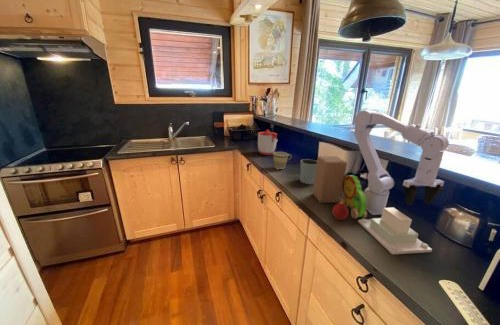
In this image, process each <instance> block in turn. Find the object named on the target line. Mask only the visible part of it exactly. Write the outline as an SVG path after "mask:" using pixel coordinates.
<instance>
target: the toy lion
mask: <svg viewBox="0 0 500 325" xmlns="http://www.w3.org/2000/svg"><path fill="white" fill-rule="evenodd" d="M363 192H364V190H362V185H361V181H360V179H359V177H358V176H356V175H353V174H350V175H345V176H344V182H343V187H342V193H343V197H341V198H340V199H339V202H338V204H339V203H340V202H343V203H344V204H345V205H346V206H347V207H349V208H350V216H351V218H353V219H358V218H361V219H367V217H368V211H367V210H366V197H365V194H364V193H363Z"/></svg>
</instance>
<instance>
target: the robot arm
mask: <svg viewBox="0 0 500 325" xmlns="http://www.w3.org/2000/svg"><path fill="white" fill-rule="evenodd" d="M353 123H354V133H353V134H354V137H355V139H356V142H357V145H358V148H359V150H360V154H361V155H362V158H363V159H364V160H363V161H364V162H365V165H366V167H367V172H368V174H367V177H366V179H367V182H368V183H367V187H366V188H365V189H364V190H363V193H364V194H365V197H366V209H365V210H366V212H367V213H370V215H373V216H382V212H383V209H384V208H387V207H386V206H387V203H388V199H389V195H390V190H391V189H393V187H394V185H395V181H394V179H393V177H391V175H390V173H389V172H388V171H387V170H386V169H384V167H383V165H382V163H381V160H380V157H379V155H378V153H377V151H376V148H375V146H374V142H373V140H372V137H371V135H370V134H371V132H372V130H373V129H374V127H375V128H376V126H377V125H383V126H384V127H387V128H389V129H392V130H393V131H396V132H398V133H400V134H401V137H402V138H403V139H404V140H407V141H408V142H410V143H412V144H414V145H416V146H418V147H420V148H421V150H422V152H421V155H420V158H419V162H418V166H417V169H416V172H415V176H414V177H413V178H410V179H405V180H403V183H402V185H401V186H402V187H401V188H402V189H403V192H404V200H405V201H404V202H405V204H407V205H408V206H412V205H413V203H414V201H415V198H416V196H417V194H418V193H420V189H419V188H418V189H417V187H424V196H423V200H422V201H423V203H425V204H426V205H431V203H432V202H433V201H434V199H435V198H436V197H437V196H438V195H439V194H441V193H442V192H444V188H443V186H444V184H445V180H441V179H436V178H437V176H438V173H439V170H440V167H441V163H442V161H443V156H444V151H445V150H446V149H447V148H448V147H449V145H450V143H449V140H448V139H447V137H445V136H444V135H443V134H436V132H435V131H429V130H427V129H424V128H423V127H422V125H421V124H409V125H407V124H405V123H404V122H402V121H400V120H398V119H396V118H394V117H392V116H390V115H388V114H386V113H385V112H381V111H379V110H376V109H373V110H364V109H363V110H360V111H359V112H357V114H355V117H354V119H353Z"/></svg>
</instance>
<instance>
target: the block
mask: <svg viewBox="0 0 500 325" xmlns="http://www.w3.org/2000/svg"><path fill="white" fill-rule="evenodd" d="M316 161H317V167H316V174H315V181H314V184H313V191H312V194H313V196H314V197H315V198H316V199H317V201H318V202H319V203H324V204H325V203H326V204H327V203H328V204H329V203H331V204H333V203H335V204H339V199H340V198H342V197H341V196H342V193H343V188H342V187H343V182H344V178H345V176H346V171H347V162H346V161H345V160H344V159H341V158H340V157H339V156H330V155H329V156H327V155H326V156H325V155H324V156H322V155H320V156H317V159H316Z"/></svg>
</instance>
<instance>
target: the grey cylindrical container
mask: <svg viewBox="0 0 500 325" xmlns="http://www.w3.org/2000/svg"><path fill="white" fill-rule="evenodd" d="M316 167H317V159H316V160H315V159H311V158H310V159H309V158H305V159H301V160H300V172H299V173H300V177H299V180H300V181H299V182H301V183H302V184H304V183H305V184H306V185H314V181H315V174H316Z"/></svg>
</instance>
